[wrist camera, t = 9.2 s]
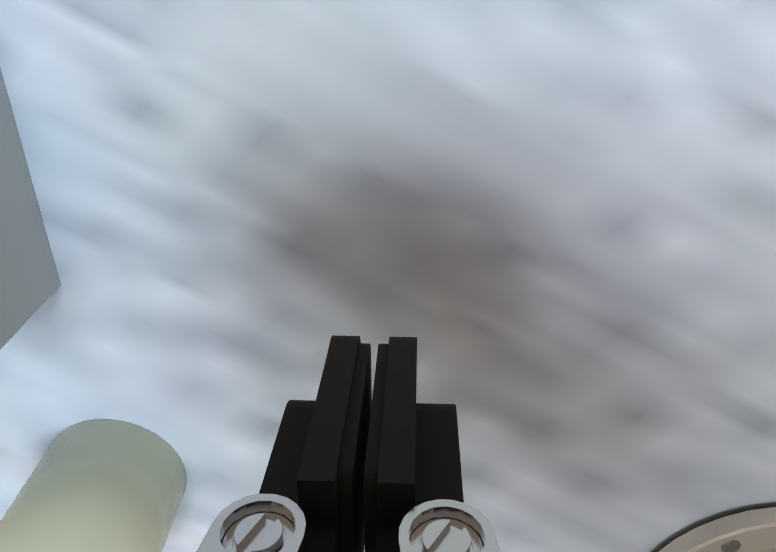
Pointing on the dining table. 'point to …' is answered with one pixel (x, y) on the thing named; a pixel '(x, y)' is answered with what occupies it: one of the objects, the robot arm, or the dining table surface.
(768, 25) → the dining table surface
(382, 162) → the dining table surface
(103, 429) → the sage mug
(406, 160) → the dining table surface
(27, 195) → the grey box
